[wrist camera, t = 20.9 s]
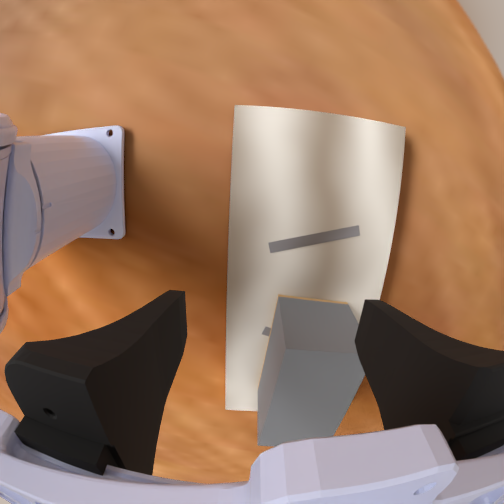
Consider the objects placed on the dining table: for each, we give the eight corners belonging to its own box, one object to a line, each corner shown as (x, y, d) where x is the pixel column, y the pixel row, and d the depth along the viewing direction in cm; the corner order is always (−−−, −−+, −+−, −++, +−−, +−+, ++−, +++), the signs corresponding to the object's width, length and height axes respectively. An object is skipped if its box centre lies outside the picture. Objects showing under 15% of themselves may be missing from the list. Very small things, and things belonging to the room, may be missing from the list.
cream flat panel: (226, 400, 25) (225, 409, 24) (235, 107, 18) (234, 104, 16) (342, 400, 25) (345, 409, 24) (397, 128, 18) (405, 127, 17)
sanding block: (257, 388, 23) (257, 445, 18) (278, 294, 20) (285, 348, 15) (315, 392, 23) (326, 446, 18) (347, 302, 20) (374, 353, 15)
